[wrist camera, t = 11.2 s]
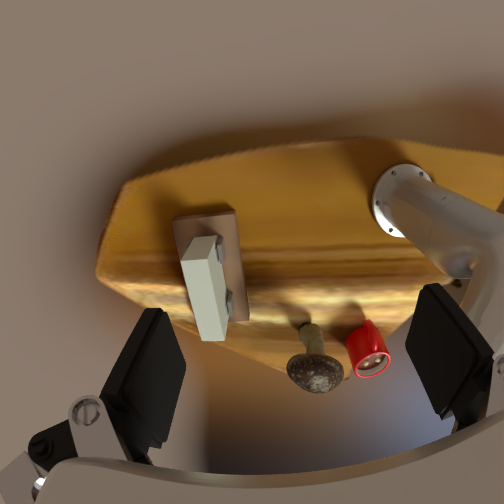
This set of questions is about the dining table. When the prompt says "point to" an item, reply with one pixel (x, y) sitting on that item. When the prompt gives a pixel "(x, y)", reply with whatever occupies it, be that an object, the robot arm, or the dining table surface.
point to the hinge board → (227, 252)
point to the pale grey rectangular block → (206, 287)
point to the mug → (367, 351)
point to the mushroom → (314, 363)
